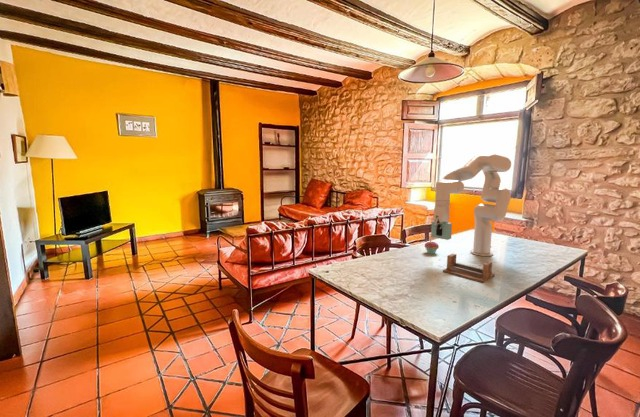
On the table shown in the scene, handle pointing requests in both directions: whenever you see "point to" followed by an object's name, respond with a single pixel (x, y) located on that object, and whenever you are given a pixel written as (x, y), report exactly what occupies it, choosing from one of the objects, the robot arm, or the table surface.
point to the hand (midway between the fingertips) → (441, 234)
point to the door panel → (445, 230)
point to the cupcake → (431, 247)
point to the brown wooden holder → (468, 270)
